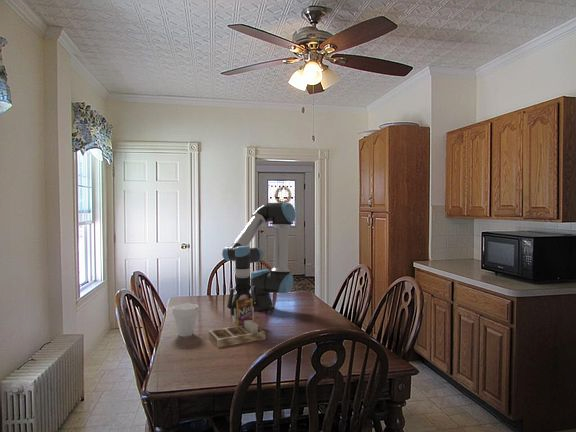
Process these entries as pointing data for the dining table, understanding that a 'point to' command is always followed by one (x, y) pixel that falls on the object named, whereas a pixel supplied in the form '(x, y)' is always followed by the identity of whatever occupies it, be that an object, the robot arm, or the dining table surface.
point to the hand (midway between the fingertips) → (243, 320)
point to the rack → (234, 336)
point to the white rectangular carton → (250, 326)
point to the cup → (185, 318)
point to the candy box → (243, 310)
